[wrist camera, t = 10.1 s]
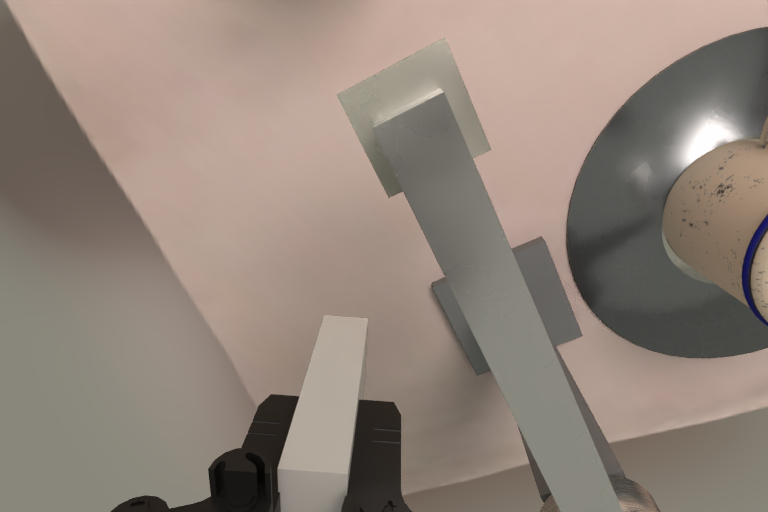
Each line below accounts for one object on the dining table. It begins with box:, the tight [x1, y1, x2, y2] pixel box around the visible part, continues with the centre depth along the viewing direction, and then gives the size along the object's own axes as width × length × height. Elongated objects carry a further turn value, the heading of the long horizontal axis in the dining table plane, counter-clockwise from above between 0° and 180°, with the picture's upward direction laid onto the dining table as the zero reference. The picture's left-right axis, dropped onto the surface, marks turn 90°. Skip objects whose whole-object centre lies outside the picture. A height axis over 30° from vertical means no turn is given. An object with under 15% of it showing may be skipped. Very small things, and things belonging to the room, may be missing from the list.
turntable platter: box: [567, 27, 768, 358], centre depth 31 cm, size 22×22×1 cm
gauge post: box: [432, 237, 626, 503], centre depth 26 cm, size 8×8×17 cm
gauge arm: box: [337, 38, 660, 512], centre depth 16 cm, size 20×4×5 cm, turn 26°
